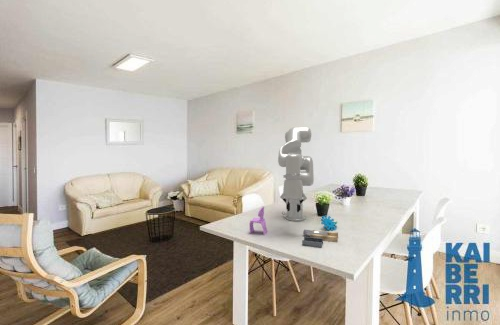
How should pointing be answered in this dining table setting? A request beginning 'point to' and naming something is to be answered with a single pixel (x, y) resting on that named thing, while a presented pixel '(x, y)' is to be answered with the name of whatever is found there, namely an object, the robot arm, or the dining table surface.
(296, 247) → the dining table surface
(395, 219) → the dining table surface
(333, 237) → the beam
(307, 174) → the robot arm
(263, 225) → the toy chair
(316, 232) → the axle
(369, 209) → the dining table surface
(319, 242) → the cradle
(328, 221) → the gear
